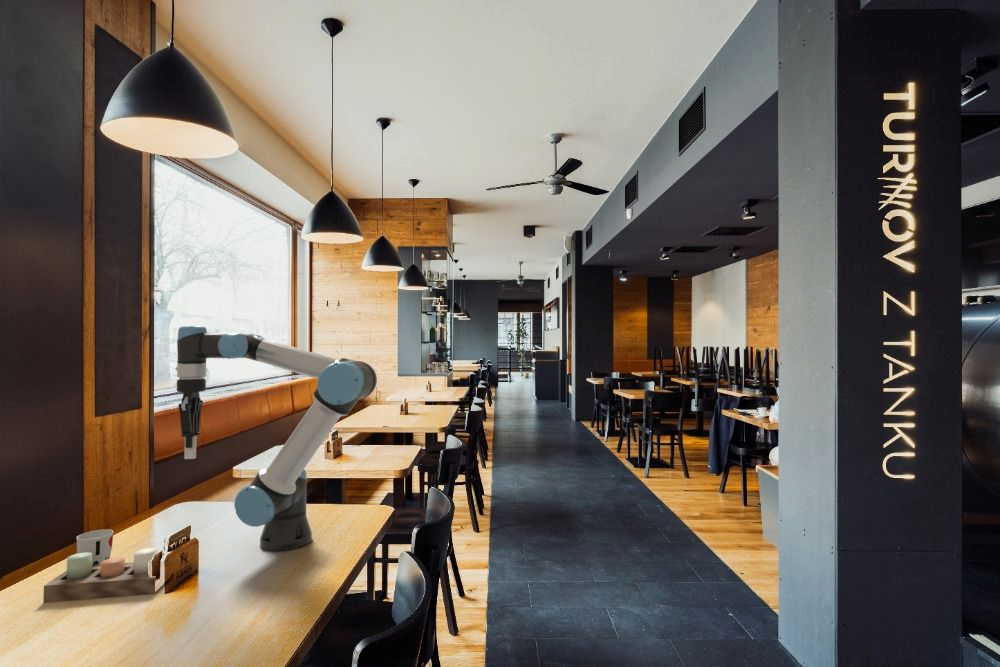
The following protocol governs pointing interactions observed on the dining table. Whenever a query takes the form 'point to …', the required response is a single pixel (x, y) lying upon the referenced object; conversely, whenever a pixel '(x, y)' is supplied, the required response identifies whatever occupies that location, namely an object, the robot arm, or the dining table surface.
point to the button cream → (143, 560)
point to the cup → (96, 545)
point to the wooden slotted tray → (99, 586)
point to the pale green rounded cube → (79, 565)
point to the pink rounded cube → (112, 567)
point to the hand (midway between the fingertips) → (190, 458)
